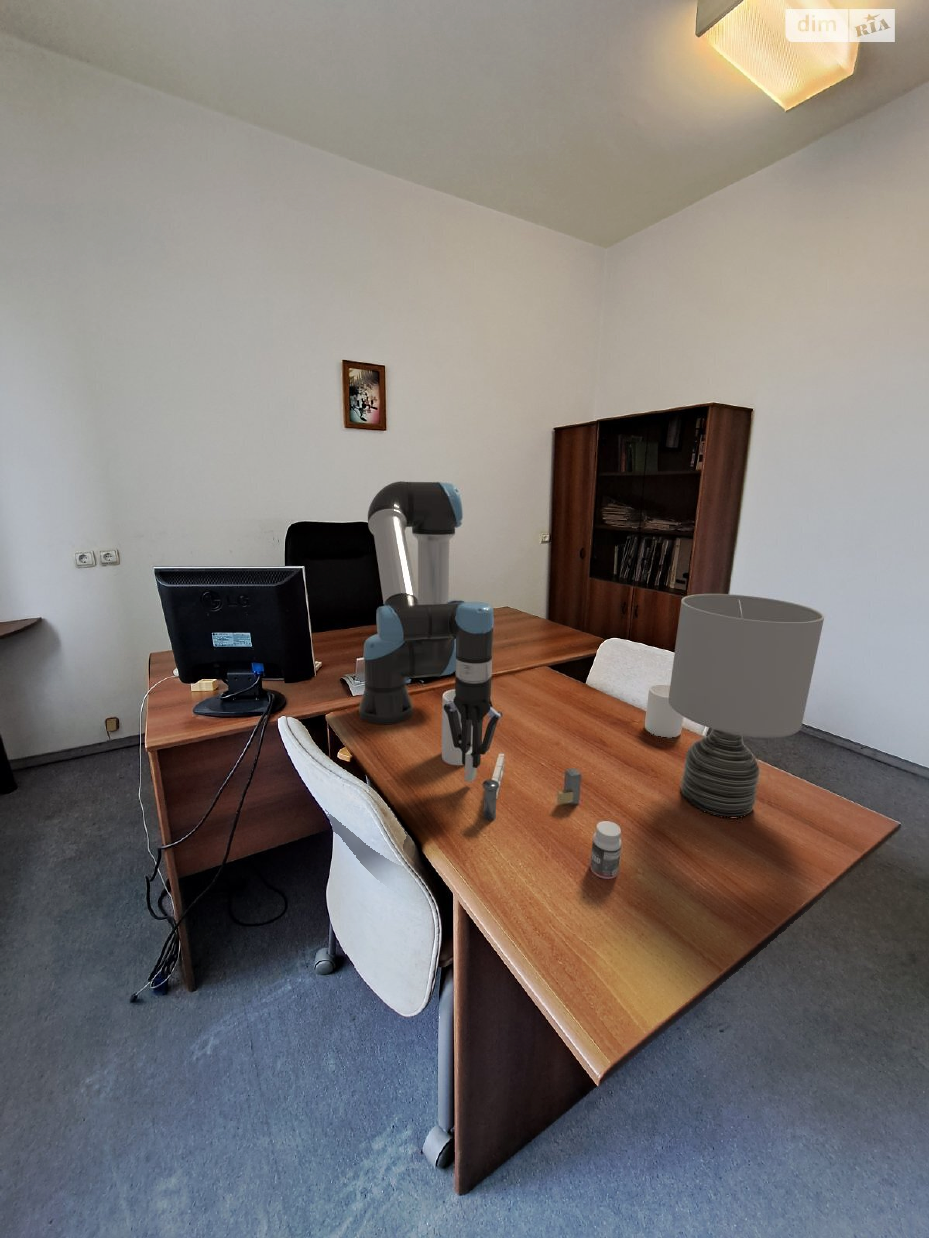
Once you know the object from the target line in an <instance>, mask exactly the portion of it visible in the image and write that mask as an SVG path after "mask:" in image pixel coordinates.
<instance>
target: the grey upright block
mask: <svg viewBox="0 0 929 1238" xmlns="http://www.w3.org/2000/svg"><path fill="white" fill-rule="evenodd" d="M563 783H564V784H563V790H559V791H557V799H556V802H557V804H558V805H563V804H564V805H565V804H566V805H567V806H568V807H570V806H575V805H576V806H577V805H580V795H581V785H582V784H581V783H582V773H581V772H580V771H579V770H578V769H577V768H567V769H565V770H564V782H563Z"/></svg>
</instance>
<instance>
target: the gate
mask: <svg viewBox="0 0 929 1238" xmlns="http://www.w3.org/2000/svg"><path fill="white" fill-rule="evenodd" d="M504 769H505V753H499V754H498V756H497V759H496V763H495V766H494V771H493V774H492V777H491V780H495V781H497V782H498V783H499V788H498V789H497V796H496V800H497V799H498V796H499V791H500V788H501V785H502V779H503V776H504Z"/></svg>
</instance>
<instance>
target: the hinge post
mask: <svg viewBox="0 0 929 1238" xmlns="http://www.w3.org/2000/svg"><path fill="white" fill-rule="evenodd" d="M498 788H499V783H498V782H497V781H495V780H492V779H486V780H484V781H483V782H482V789H484V790H483V791H484V792H483V793H484V795H483V798H484V799H483V819H484V821H487V822H488V821H489V822H491V821H495V820H496V818H497V817H496V816H497V815H496V814H497V799H496V796H497V789H498ZM499 789H500V788H499Z"/></svg>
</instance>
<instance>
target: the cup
mask: <svg viewBox="0 0 929 1238" xmlns="http://www.w3.org/2000/svg"><path fill="white" fill-rule="evenodd" d="M455 695H456V694H455V688H453V689H449V690H446V691H445V692H444V693H442V698H441V700H442V707H441V708H442V709H441V715H442V721H441V724H442V725H441V758H442V760H443V762H445V763H446V764H449V765H452V766H464V765H463V764H462V751H461V749H460V748H455V747H454V744H453V739H452V735H451V730H450V725H449V720H448V715H447V714H446V712H445V710H444V708H443V706H444V705H445V704H446V703H448V702H449V701H453V699H454V697H455ZM457 712H458V716H459V721H460V726H461V731H462V723H461V714H460V713H459V711H458V709H457ZM472 733H473V726H471V745H472ZM471 748H472V746H471V747H470V749H471Z"/></svg>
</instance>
